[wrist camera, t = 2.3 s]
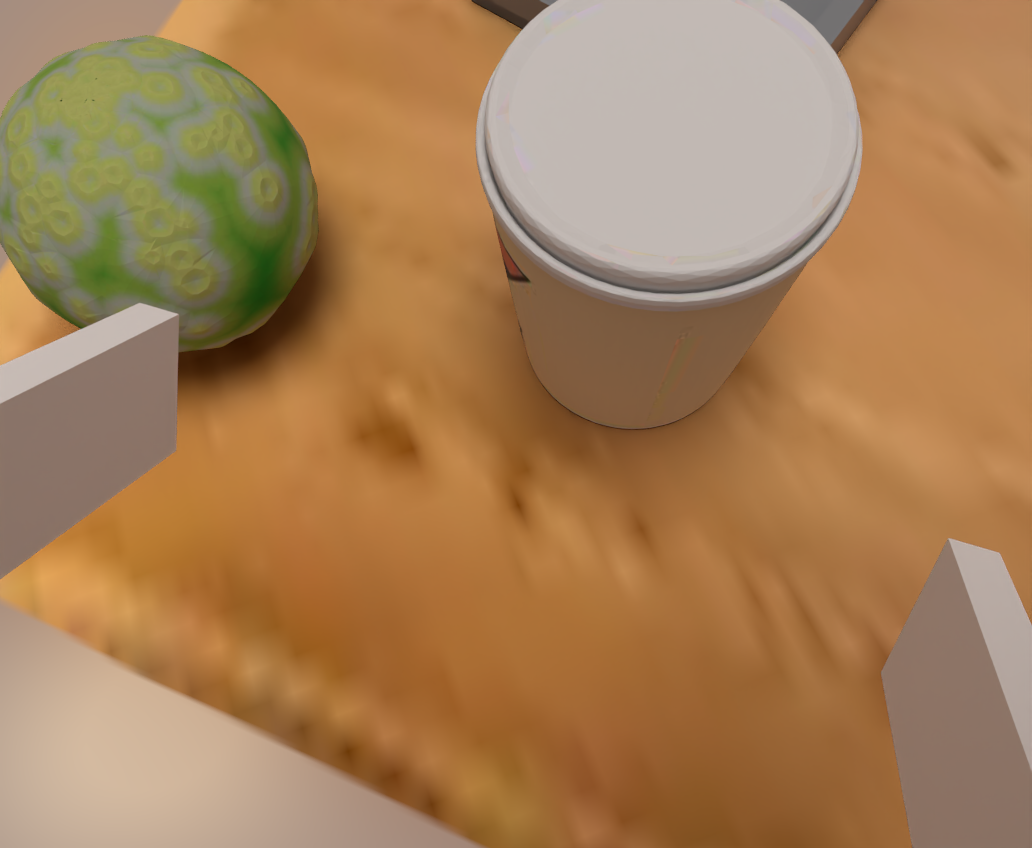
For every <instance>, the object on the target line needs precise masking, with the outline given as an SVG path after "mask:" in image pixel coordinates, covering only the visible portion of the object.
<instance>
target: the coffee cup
mask: <svg viewBox="0 0 1032 848" xmlns="http://www.w3.org/2000/svg"><path fill="white" fill-rule="evenodd" d="M476 156H477V165H478V170H479V174H480V178H481V182H482V185H483V189H484V192H485V194H486V197H487V200H488V202H489V205H490V207H491V209H492V211H493V216H494V221H495V226H496V230H497V235H498V239H499V243H500V248H501V252H502V256H503V260H504V265H505V269H506V273H507V277H508V281H509V285H510V290H511V294H512V298H513V302H514V306H515V310H516V314H517V318H518V322H519V327H520V331H521V335H522V338H523V342H524V345H525V349H526V352H527V355H528V358H529V360H530V363H531V366H532V368H533V370H534V372H535V373H536V375H537V377H538V379H539V380H540V382H541V383H542V384H543V386H544V387H545V388H546V390H547V391H548V392H549V393H550V394H551V395H552V396H553V397H554V398H555V399H556V400H557V401H558V402H559V403H561V404H562V405H563V406H565V407H566V408H568V409H569V410H570V411H572V412H574V413H575V414H577V415H579V416H581V417H583V418H585V419H587V420H590V421H592V422H595V423H598V424H602V425H606V426H610V427H615V428H623V429H643V428H652V427H657V426H661V425H665V424H668V423H671V422H674V421H677V420H679V419H682V418H684V417H685V416H687V415H689V414H691V413H692V412H694V411H695V410H697V409H698V408H700V407H701V406H702V405H704V404H705V403H706V402H707V401H708V400H709V399H710V398H711V397H712V396H713V395H714V394H715V393H716V392H717V391H718V389H719V388H720V387H721V386H722V385H723V383H724V382H725V381H726V379H727V378H728V377H729V375H730V374H731V373H732V371H733V370H734V369H735V367H736V366H737V364H738V363H739V361H740V360H741V359H742V357H743V356H744V354H745V353H746V351H747V350H748V349H749V347H750V346H751V344H752V343H753V341H754V340H755V339H756V337H757V336H758V334H759V333H760V331H761V330H762V329H763V327H764V326H765V324H766V323H767V321H768V320H769V318H770V317H771V316H772V314H773V313H774V311H775V310H776V308H777V307H778V305H779V304H780V302H781V301H782V299H783V298H784V296H785V295H786V293H787V292H788V291H789V289H790V288H791V286H792V285H793V283H794V282H795V280H796V279H797V277H798V276H799V274H800V273H801V271H802V270H803V268H804V267H805V266H806V264H807V262H808V261H809V260H810V259H811V258H812V257H813V256H814V255H815V254H816V253H817V252H818V251H819V250H820V249H821V248H822V247H823V245H824V244H825V243H826V241H827V240H828V239H829V237H830V236H831V235H832V233H833V232H834V231H835V229H836V228H837V227H838V225H839V223H840V222H841V220H842V218H843V216H844V214H845V213H846V211H847V209H848V207H849V204H850V202H851V199H852V197H853V194H854V192H855V188H856V184H857V180H858V177H859V173H860V168H861V159H862V131H861V125H860V118H859V114H858V110H857V104H856V98H855V95H854V92H853V89H852V86H851V83H850V80H849V78H848V75H847V73H846V71H845V68H844V66H843V65H842V63H841V61H840V60H839V58H838V56H837V54H836V53H835V51H834V50H833V49H832V47H831V46H830V45H829V43H828V42H827V41H826V40H825V38H824V37H823V36H822V35H821V34H820V33H819V32H818V30H817V29H816V28H815V27H814V26H813V25H812V24H811V23H809V22H808V21H807V20H806V19H805V18H803V17H802V16H801V15H800V14H798V13H797V12H796V11H795V10H793V9H792V8H791V7H789V6H788V5H787V4H785V3H784V2H782V1H780V0H558V1H556V2H554V3H553V4H551V5H550V6H549V7H547V8H546V9H544V10H543V11H542V12H540V13H539V14H538V15H537V16H536V17H535V18H534V19H532V20H531V21H530V22H529V23H528V24H527V25H526V26H525V27H524V29H523V30H522V31H521V32H520V33H519V34H518V35H517V37H516V38H515V39H514V41H513V42H512V43H511V45H510V46H509V47H508V48H507V50H506V52H505V54H504V55H503V57H502V59H501V61H500V62H499V64H498V65H497V67H496V69H495V71H494V72H493V74H492V76H491V78H490V80H489V82H488V85H487V87H486V89H485V92H484V94H483V98H482V101H481V105H480V108H479V113H478V120H477V127H476Z"/></svg>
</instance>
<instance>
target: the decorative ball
mask: <svg viewBox="0 0 1032 848" xmlns="http://www.w3.org/2000/svg"><path fill="white" fill-rule="evenodd" d="M317 202H318V194H317V187H316V183H315V180H314V177H313V174H312V171H311V166H310V162H309V157H308V153H307V149H306V146H305V143H304V141H303V139H302V137H301V136H300V135H299V133H298V132H297V131H296V129H295V128H294V127H293V125H292V124H291V123H290V121H289V120H288V119H287V117H286V116H285V115H284V114H283V113H282V111H281V110H280V109H279V108H278V107H277V105H276V104H275V103H274V102H273V101H272V100H271V99H270V98H269V97H268V96H267V95H266V94H265V93H264V92H263V91H262V90H261V89H260V88H258V87H257V86H256V85H255V84H254V83H253V82H252V81H251V80H249V79H248V78H247V77H245V76H244V75H242V74H241V73H239V72H238V71H236V70H235V69H233V68H232V67H231V66H229V65H227V64H225V63H224V62H222V61H220V60H218V59H216V58H214V57H212V56H210V55H208V54H205V53H203V52H201V51H198V50H196V49H193V48H190V47H188V46H185V45H182V44H179V43H176V42H173V41H170V40H167V39H164V38H159V37H155V36H147V35H146V36H140V37H133V38H128V39H122V40H117V41H110V42H109V41H108V42H99V43H94V44H91V45H89V46H87V47H85V48H82V49H78V50H75V51H71V52H67V53H64V54H62V55H59V56H57V57H55V58H54V59H52V60H51V61H49V62H48V63H47V64H45V65H44V67H43V68H42V69H41V70H40V71H39V72H38V73H37V75H36V76H35V77H34V78H32V79H31V80H30V81H28V82H27V83H26V84H24V85H23V86H22V87H21V88H19V89H18V90H17V91H16V92H15V93H14V95H13V96H12V97H11V99H10V100H9V101H8V103H7V105H6V107H5V108H4V110H3V112H2V116H1V118H0V244H1V245H2V247H3V248H4V250H5V252H6V254H7V255H8V257H9V259H10V260H11V262H12V263H13V265H14V266H15V268H16V270H17V271H18V273H19V274H20V276H21V278H22V279H23V281H24V282H25V284H26V285H27V287H28V288H29V290H30V291H31V293H32V294H33V295H34V296H35V297H36V299H38V300H39V301H40V302H41V303H43V304H44V305H45V306H47V307H48V308H49V309H51V310H52V311H53V312H55V313H56V314H58V315H59V316H61V317H62V318H64V319H65V320H67V321H68V322H70V323H72V324H74V325H75V326H77V327H79V328H81V329H83V328H85V327H87V326H89V325H92V324H94V323H96V322H98V321H100V320H103V319H105V318H107V317H109V316H111V315H114V314H116V313H118V312H120V311H123V310H125V309H127V308H129V307H131V306H134V305H136V304H138V303H142V304H146V305H149V306H153V307H156V308H160V309H163V310H166V311H170V312H173V313H177V314H179V341H178V352H186V351H193V350H202V349H211V348H220V347H223V346H225V345H227V344H228V343H230V342H231V341H233V340H235V339H236V338H239V337H242V336H245V335H248V334H250V333H252V332H254V331H255V330H257V329H258V328H260V327H261V326H262V325H264V324H265V323H266V322H267V321H268V320H269V319H270V317H271V316H272V315H273V314H274V312H275V311H276V310H277V309H278V308H279V306H280V305H281V304H282V303H283V301H284V300H285V299H286V297H287V296H288V294H289V293H290V291H291V289H292V288H293V286H294V285H295V283H296V282H297V280H298V279H299V277H300V276H301V274H302V272H303V270H304V268H305V266H306V265H307V263H308V261H309V259H310V257H311V255H312V253H313V251H314V249H315V247H316V242H317V237H318V232H319V227H318V205H317Z"/></svg>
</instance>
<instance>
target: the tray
mask: <svg viewBox="0 0 1032 848" xmlns="http://www.w3.org/2000/svg"><path fill="white" fill-rule="evenodd" d="M472 1H473V2H475V3H477V4H479V5H480V6H482V7H484V8H486V9H488V10H490V11H491V12H493V13H495V14H497V15H499V16H500V17H502V18H504V19H506V20H508V21H510V22H511V23H513V24H515V25H517V26H519V27H521V28H522V29H524V27H525V26H526V25H527V24H528V23H529V22H530V21H531V20H532V19H534V18H535V17H536V16H537V15H538V14H539V13H540V12H542V11H543V10H544V9H546V8H547V7H549V6H550V5H551V4H553V3H554V2H556V1H558V0H472ZM780 1H782V2H784V3H785V4H787V5H788V6H789V7H791V8H792V9H793V10H795V11H796V12H797V13H798V14H800V15H801V16H802V17H803V18H805V19H806V20H807V21H808V22H809V23H811V24H812V25H813V26H814V27H815V28H816V29H817V30H818V32H819V33H820V34H821V35H822V36H823V37H824V38H825V40H826V41H827V42H828V43H829V45H830V46H831V47H832V49H833V50H834V51H835V53H836V54H837V53H838V52H839V51H840V49H841V48H842V47H843V45H844V44H845V43H846V41H847V40H848V39H849V37H850V36H851V34H852V33H853V32H854V30H855V29H856V28H857V26H858V25H859V24H860V22H861V21H862V20H863V18H864V17H865V16H866V14H867V13H868V12H869V10H870V9H871V8H872V6H873V5H874V4H875V2H876V1H877V0H780Z"/></svg>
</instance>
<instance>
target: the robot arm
mask: <svg viewBox="0 0 1032 848" xmlns="http://www.w3.org/2000/svg"><path fill="white" fill-rule="evenodd" d="M178 341H179V314H177V313H173V312H170V311H166V310H163V309H160V308H156V307H153V306H149V305H146V304H142V303H138V304H136V305H134V306H131V307H129V308H127V309H125V310H123V311H120V312H118V313H116V314H114V315H111V316H109V317H107V318H105V319H103V320H100V321H98V322H96V323H94V324H92V325H89V326H87V327H85V328H83V329H80V330H78V331H76V332H74V333H72V334H69V335H67V336H65V337H63V338H60V339H58V340H56V341H54V342H52V343H49V344H47V345H45V346H43V347H41V348H38V349H36V350H34V351H32V352H29V353H27V354H25V355H23V356H21V357H18V358H16V359H14V360H12V361H9V362H7V363H5V364H3V365H1V366H0V579H1V578H3V577H4V576H5V575H7V574H8V573H9V572H11V571H12V570H13V569H15V568H16V567H18V566H19V565H20V564H22V563H23V562H24V561H26V560H27V559H29V558H30V557H31V556H33V555H34V554H35V553H37V552H38V551H39V550H41V549H42V548H44V547H45V546H46V545H48V544H49V543H50V542H52V541H53V540H55V539H56V538H57V537H59V536H60V535H61V534H63V533H64V532H65V531H67V530H68V529H70V528H71V527H72V526H74V525H75V524H76V523H78V522H79V521H81V520H82V519H83V518H85V517H86V516H87V515H89V514H90V513H91V512H93V511H94V510H96V509H97V508H98V507H100V506H101V505H102V504H104V503H105V502H107V501H108V500H109V499H111V498H112V497H113V496H115V495H116V494H117V493H119V492H120V491H122V490H123V489H124V488H126V487H127V486H128V485H130V484H131V483H133V482H134V481H135V480H137V479H138V478H139V477H141V476H142V475H143V474H145V473H146V472H148V471H149V470H150V469H152V468H153V467H154V466H156V465H157V464H159V463H160V462H161V461H163V460H164V459H165V458H167V457H168V456H170V455H171V454H172V453H174V452H175V451H176V434H177V387H178ZM881 676H882V681H883V687H884V693H885V698H886V704H887V709H888V715H889V720H890V726H891V731H892V737H893V743H894V748H895V754H896V759H897V765H898V770H899V776H900V781H901V787H902V793H903V798H904V804H905V809H906V815H907V820H908V826H909V832H910V837H911V843H912V848H1032V625H1031V623H1030V620H1029V618H1028V616H1027V614H1026V611H1025V609H1024V607H1023V604H1022V602H1021V600H1020V598H1019V595H1018V593H1017V591H1016V589H1015V586H1014V584H1013V582H1012V580H1011V577H1010V575H1009V573H1008V571H1007V568H1006V566H1005V564H1004V562H1003V559H1002V557H1001V555H1000V553H998V552H995V551H992V550H988V549H985V548H981V547H978V546H974V545H971V544H967V543H964V542H961V541H957V540H954V539H950V538H948V540H947V542H946V543H945V545H944V547H943V549H942V551H941V553H940V555H939V557H938V559H937V561H936V563H935V565H934V567H933V569H932V571H931V573H930V575H929V577H928V579H927V581H926V583H925V585H924V587H923V589H922V591H921V593H920V595H919V597H918V599H917V601H916V603H915V605H914V607H913V609H912V611H911V613H910V615H909V617H908V619H907V621H906V623H905V625H904V627H903V629H902V631H901V633H900V635H899V637H898V639H897V641H896V643H895V645H894V647H893V649H892V651H891V653H890V655H889V657H888V659H887V661H886V663H885V665H884V667H883V669H882V671H881Z"/></svg>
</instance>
